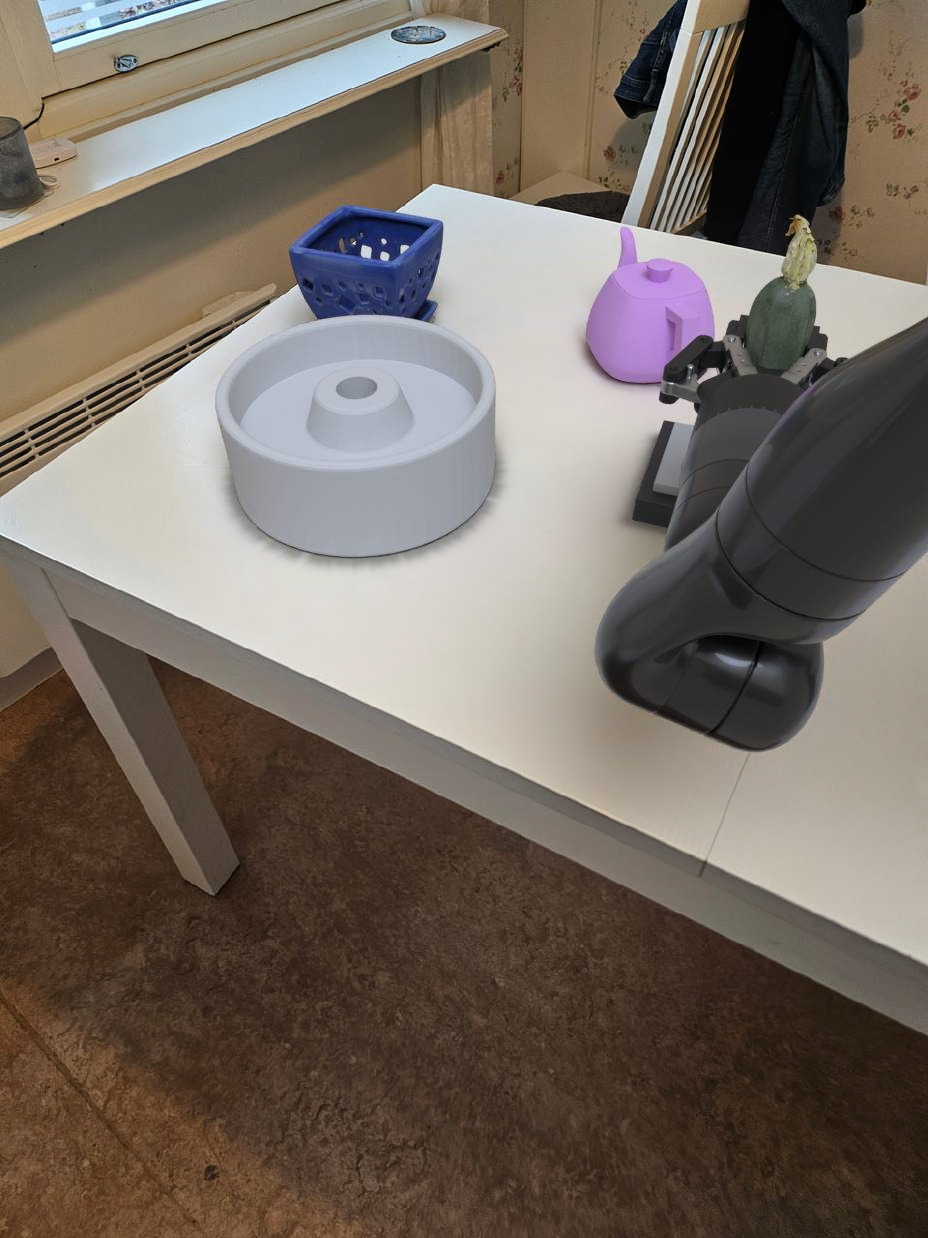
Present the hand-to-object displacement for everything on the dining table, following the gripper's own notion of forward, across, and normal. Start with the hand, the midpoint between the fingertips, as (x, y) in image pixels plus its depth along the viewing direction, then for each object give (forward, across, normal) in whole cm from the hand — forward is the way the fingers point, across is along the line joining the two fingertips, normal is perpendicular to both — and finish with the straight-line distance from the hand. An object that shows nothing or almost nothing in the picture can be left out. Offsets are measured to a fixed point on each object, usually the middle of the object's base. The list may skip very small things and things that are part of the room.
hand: (776, 332), depth 64 cm
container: (-2, +34, +20) cm, 39 cm away
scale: (+6, +1, +20) cm, 20 cm away
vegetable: (-3, 0, +11) cm, 12 cm away
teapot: (+28, +13, +20) cm, 36 cm away
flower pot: (+23, +44, +20) cm, 53 cm away
